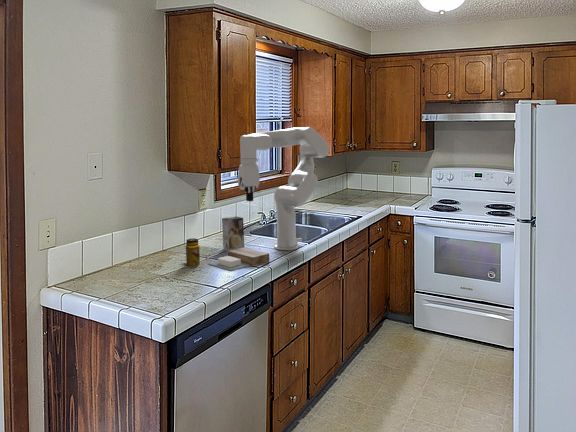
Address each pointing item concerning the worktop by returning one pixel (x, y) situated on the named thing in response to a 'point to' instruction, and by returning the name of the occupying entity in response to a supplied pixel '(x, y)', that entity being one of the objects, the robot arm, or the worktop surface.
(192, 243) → the condiment
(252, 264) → the board
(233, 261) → the tile
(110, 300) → the worktop surface
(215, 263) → the mat
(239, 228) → the coffee box
